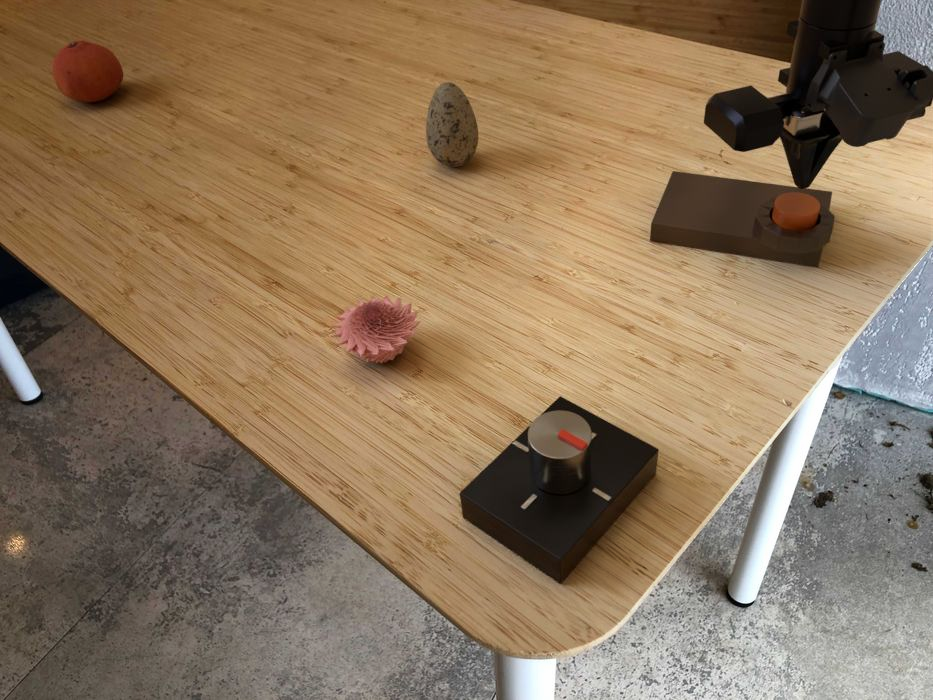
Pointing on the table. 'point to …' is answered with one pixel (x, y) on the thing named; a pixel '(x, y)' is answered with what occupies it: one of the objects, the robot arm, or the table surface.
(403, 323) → the flower
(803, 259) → the button block
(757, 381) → the table surface
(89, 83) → the fruit
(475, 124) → the decorative egg
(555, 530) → the panel
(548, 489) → the dial
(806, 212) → the button
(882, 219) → the table surface
